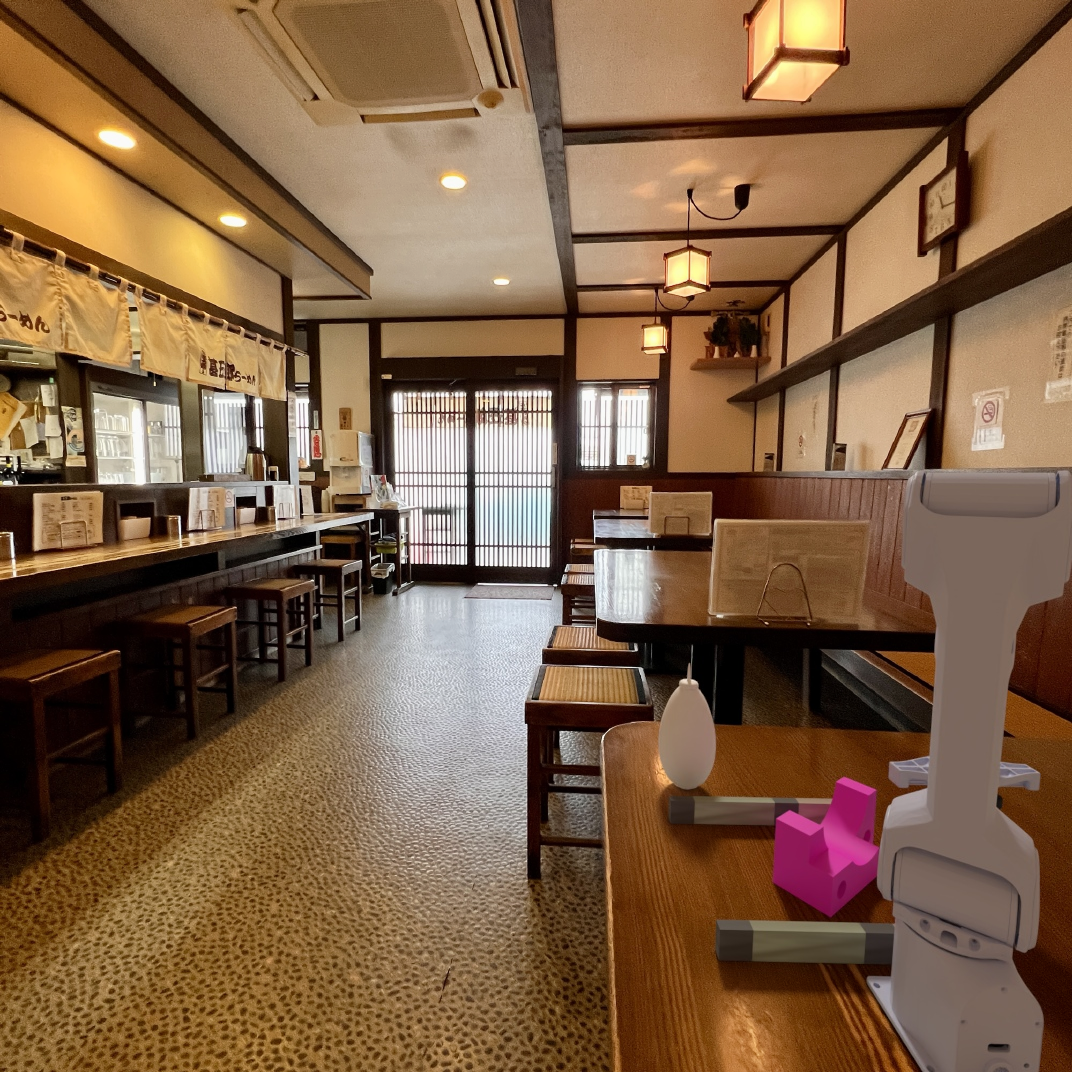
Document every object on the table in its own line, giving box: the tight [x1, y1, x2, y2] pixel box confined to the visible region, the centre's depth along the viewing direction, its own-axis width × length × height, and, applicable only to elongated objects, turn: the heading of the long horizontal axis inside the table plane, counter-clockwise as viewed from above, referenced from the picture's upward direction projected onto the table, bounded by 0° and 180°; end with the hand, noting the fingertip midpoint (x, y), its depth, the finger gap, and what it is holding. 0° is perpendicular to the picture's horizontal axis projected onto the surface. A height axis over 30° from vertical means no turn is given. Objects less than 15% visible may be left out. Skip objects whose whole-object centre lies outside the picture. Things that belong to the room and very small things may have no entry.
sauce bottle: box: [657, 662, 717, 790], centre depth 82 cm, size 8×8×18 cm
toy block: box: [772, 776, 880, 918], centre depth 65 cm, size 15×6×8 cm, turn 127°
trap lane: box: [667, 795, 895, 966], centre depth 63 cm, size 22×24×3 cm
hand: (956, 848), depth 63 cm, fingers closed
